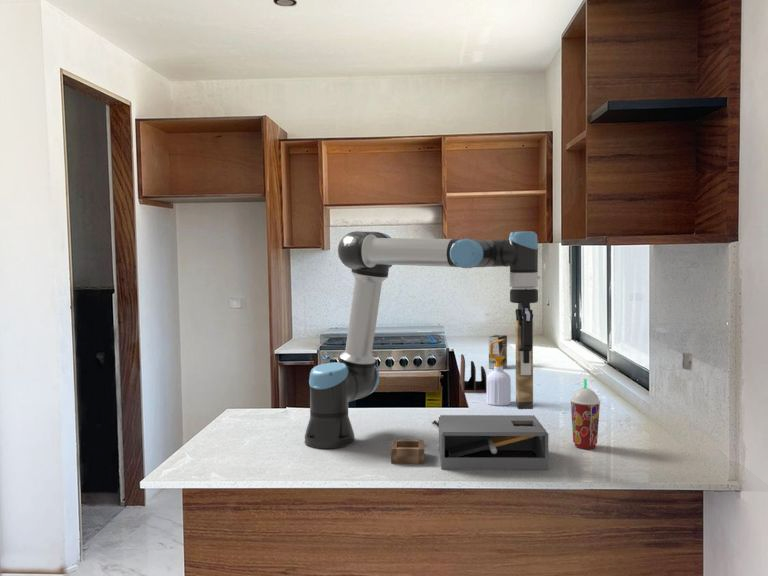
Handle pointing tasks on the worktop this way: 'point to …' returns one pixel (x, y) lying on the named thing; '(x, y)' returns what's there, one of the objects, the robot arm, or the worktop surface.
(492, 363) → the coffee box
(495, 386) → the soap bottle
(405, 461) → the square wooden socket
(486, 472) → the worktop surface
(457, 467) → the box
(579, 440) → the smoothie
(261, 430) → the worktop surface
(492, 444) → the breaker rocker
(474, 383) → the letter holder
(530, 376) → the light wood square bar
